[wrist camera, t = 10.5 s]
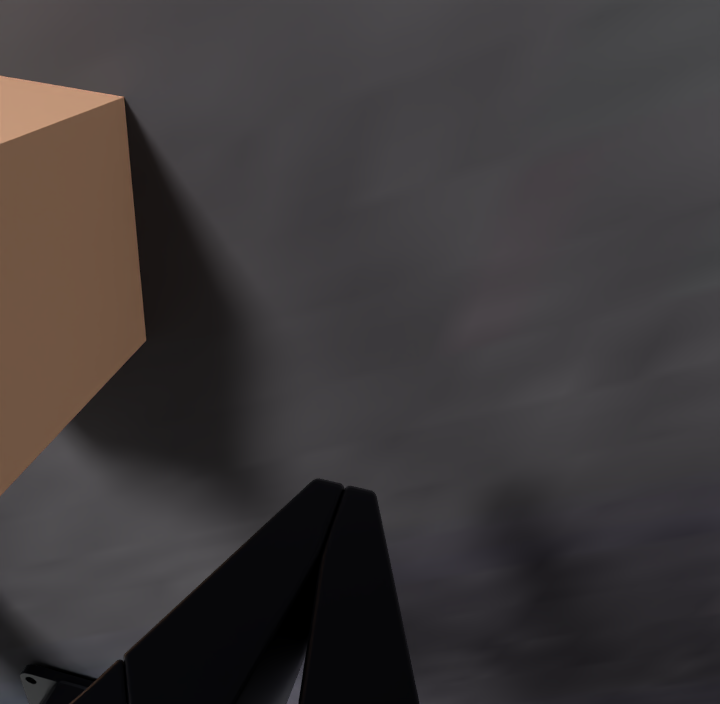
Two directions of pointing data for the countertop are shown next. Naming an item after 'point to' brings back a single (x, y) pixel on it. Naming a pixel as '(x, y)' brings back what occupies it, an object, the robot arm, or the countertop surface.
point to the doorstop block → (62, 260)
